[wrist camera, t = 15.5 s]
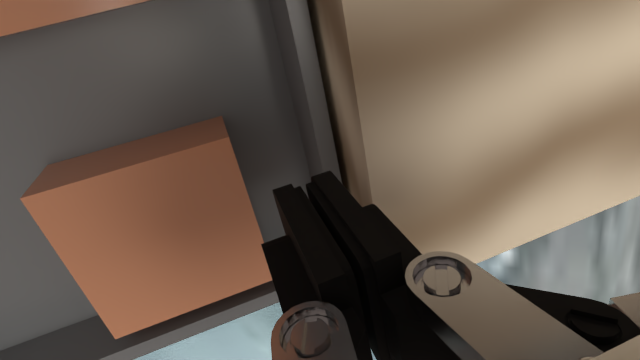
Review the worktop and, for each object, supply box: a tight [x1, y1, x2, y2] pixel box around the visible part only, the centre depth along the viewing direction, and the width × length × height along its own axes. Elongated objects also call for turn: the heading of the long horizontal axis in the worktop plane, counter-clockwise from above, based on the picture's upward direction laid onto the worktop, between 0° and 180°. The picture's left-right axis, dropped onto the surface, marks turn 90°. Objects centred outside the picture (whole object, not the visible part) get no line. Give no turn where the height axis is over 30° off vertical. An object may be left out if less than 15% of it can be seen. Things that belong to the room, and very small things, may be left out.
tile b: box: [20, 116, 272, 339], centre depth 14 cm, size 6×6×2 cm
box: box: [0, 0, 342, 360], centre depth 11 cm, size 20×16×3 cm
